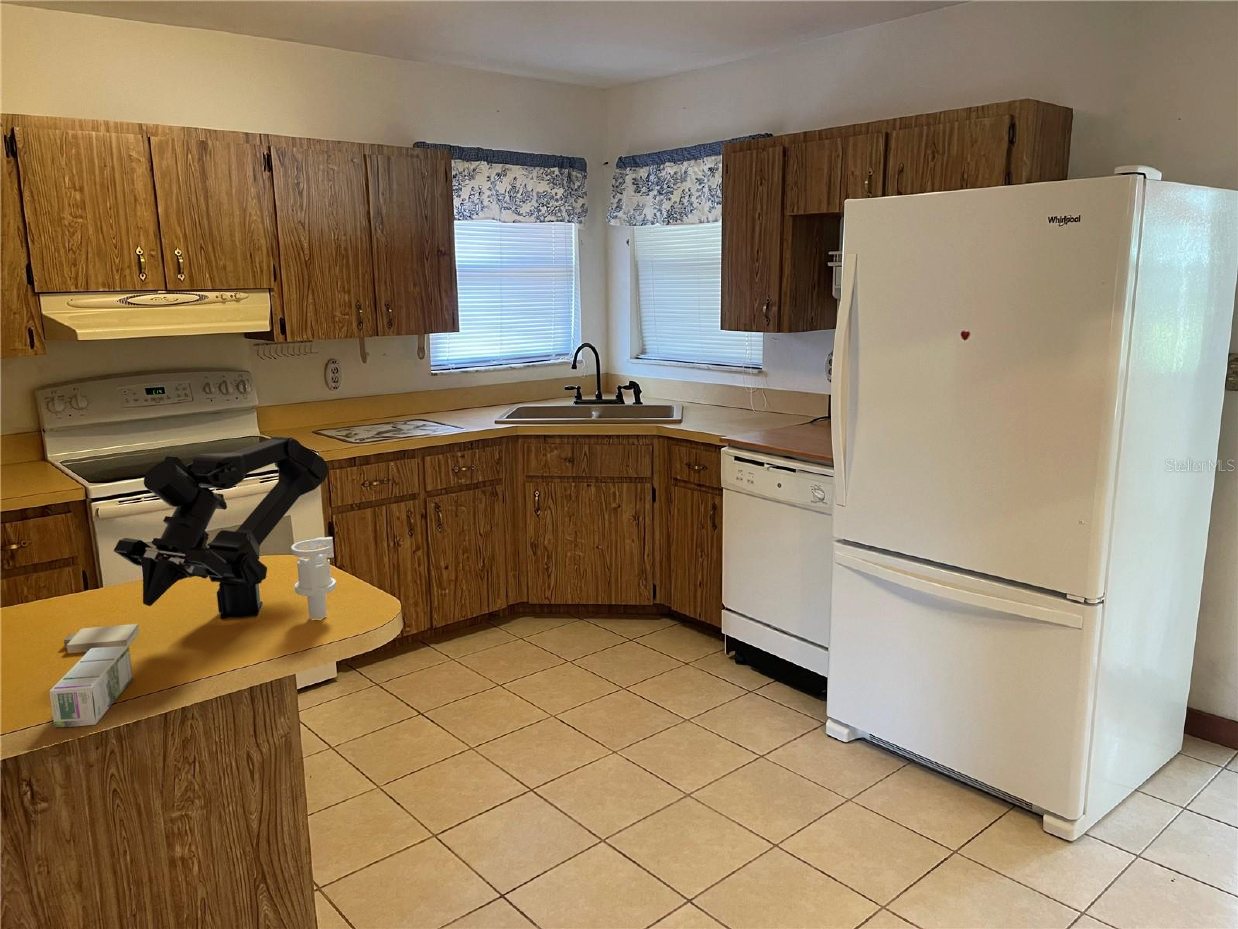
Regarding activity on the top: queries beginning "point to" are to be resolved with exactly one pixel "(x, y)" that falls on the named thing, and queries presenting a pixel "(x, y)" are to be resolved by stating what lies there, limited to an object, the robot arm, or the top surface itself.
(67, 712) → the syrup box
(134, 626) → the cream flat tabbed slab
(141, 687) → the top surface
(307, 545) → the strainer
